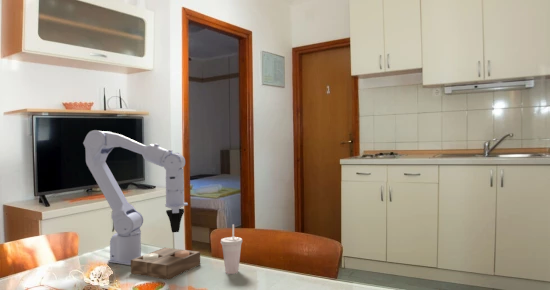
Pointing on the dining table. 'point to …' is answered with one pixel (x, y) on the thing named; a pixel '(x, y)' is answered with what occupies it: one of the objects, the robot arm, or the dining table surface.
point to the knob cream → (150, 256)
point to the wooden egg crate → (165, 264)
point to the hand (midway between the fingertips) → (175, 231)
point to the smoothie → (231, 252)
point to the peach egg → (182, 254)
